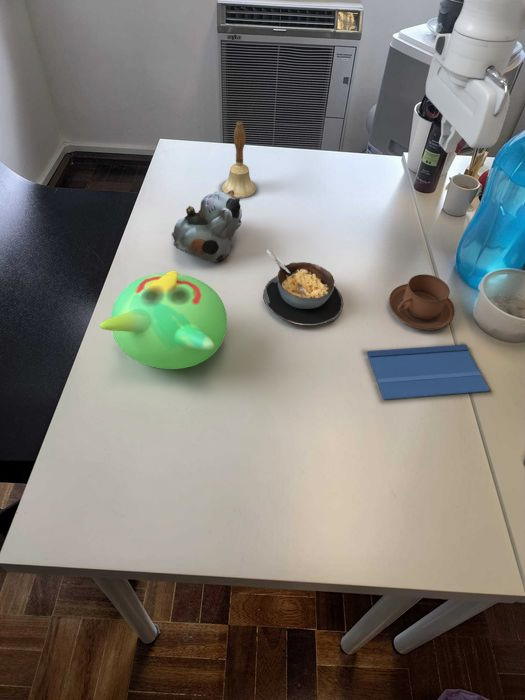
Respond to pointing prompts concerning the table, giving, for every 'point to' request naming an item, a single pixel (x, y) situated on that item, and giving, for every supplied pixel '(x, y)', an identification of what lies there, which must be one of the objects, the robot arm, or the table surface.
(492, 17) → the robot arm
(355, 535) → the table surface
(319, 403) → the table surface
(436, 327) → the cup and saucer
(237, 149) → the hand bell
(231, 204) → the lucky cat figurine
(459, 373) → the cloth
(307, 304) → the soup bowl
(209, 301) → the toy bird
